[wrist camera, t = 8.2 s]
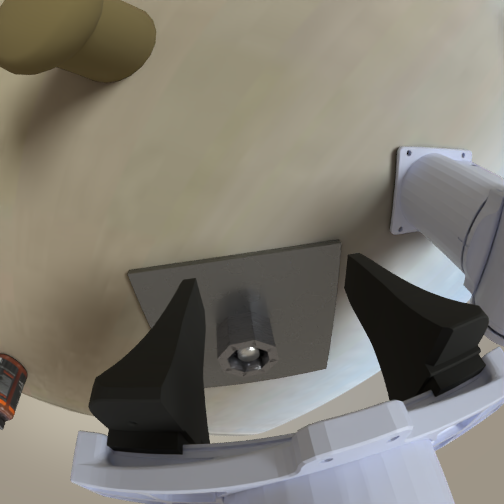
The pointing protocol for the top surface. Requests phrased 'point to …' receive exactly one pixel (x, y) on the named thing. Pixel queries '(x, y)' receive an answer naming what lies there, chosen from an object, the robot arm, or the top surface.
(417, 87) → the top surface
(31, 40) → the cork
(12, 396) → the supplement bottle
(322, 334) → the stand
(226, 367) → the ring
